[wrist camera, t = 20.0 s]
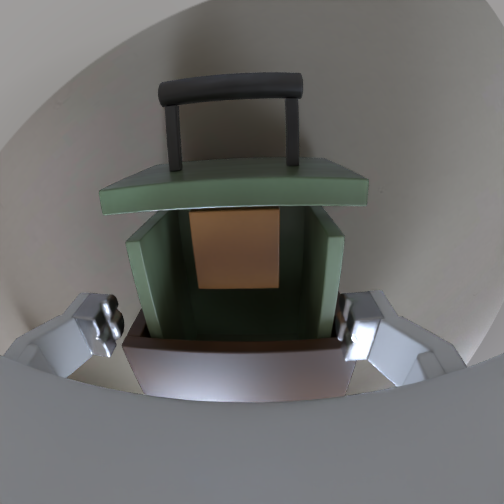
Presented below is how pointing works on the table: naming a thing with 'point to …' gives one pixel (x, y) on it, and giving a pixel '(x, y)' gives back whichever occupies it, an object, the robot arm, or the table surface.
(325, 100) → the table surface
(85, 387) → the robot arm
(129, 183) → the drawer
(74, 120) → the table surface
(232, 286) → the block
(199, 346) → the cabinet
